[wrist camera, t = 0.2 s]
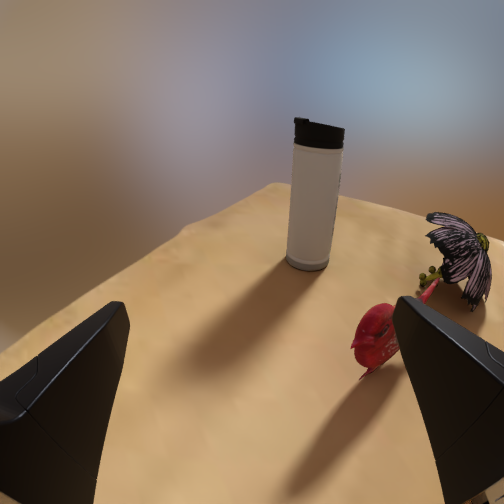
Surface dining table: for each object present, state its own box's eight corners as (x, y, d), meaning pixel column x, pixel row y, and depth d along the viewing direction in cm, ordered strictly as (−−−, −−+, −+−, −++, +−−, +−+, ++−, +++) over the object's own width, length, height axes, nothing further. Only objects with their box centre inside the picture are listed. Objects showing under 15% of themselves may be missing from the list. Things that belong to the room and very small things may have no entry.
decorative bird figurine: (316, 396, 24) (341, 312, 19) (413, 313, 33) (439, 241, 28) (339, 417, 22) (376, 336, 17) (431, 324, 31) (461, 252, 26)
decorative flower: (522, 275, 22) (432, 191, 30) (460, 347, 28) (380, 267, 36) (512, 261, 33) (446, 201, 40) (468, 315, 38) (408, 256, 46)
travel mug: (275, 255, 44) (282, 115, 34) (311, 246, 47) (323, 117, 37) (300, 277, 40) (314, 121, 30) (337, 264, 42) (356, 123, 32)
